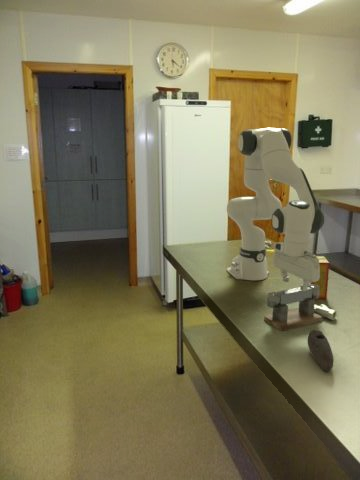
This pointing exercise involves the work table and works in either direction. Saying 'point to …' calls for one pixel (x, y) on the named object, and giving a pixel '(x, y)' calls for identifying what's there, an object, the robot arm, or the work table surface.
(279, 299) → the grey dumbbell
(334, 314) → the pipe fitting
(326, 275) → the baking soda box
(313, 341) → the perforated stone tool
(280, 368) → the work table surface
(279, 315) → the peg stand
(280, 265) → the robot arm
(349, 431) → the work table surface
